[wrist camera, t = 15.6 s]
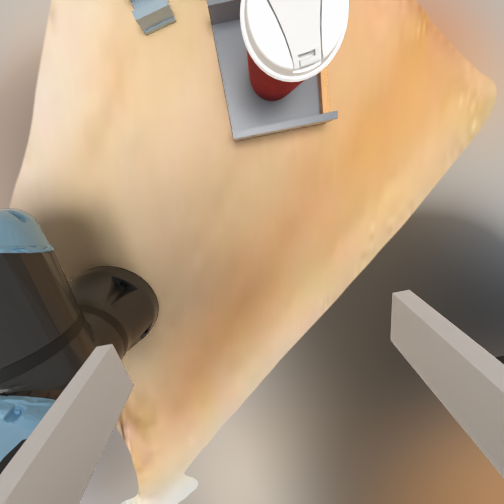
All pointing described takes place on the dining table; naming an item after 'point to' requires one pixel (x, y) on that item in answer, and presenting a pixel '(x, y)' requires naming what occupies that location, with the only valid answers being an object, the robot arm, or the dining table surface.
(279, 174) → the dining table surface
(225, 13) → the end holder
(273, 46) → the coffee cup
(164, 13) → the clip
